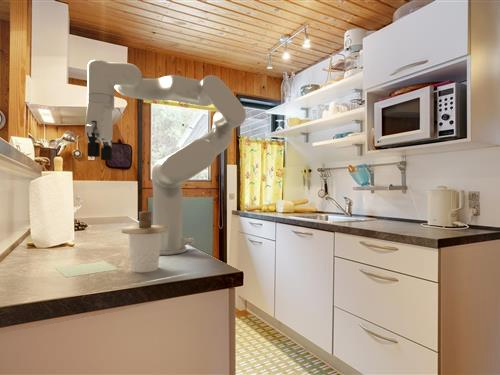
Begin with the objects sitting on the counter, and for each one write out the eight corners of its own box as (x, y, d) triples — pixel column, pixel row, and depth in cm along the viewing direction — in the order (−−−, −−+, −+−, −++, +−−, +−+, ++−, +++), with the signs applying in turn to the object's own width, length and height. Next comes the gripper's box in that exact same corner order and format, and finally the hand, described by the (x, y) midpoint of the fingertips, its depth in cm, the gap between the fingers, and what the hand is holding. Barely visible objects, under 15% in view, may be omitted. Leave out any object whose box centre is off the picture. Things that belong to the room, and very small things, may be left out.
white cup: (143, 276, 75) (143, 234, 75) (121, 271, 79) (121, 232, 79) (167, 269, 82) (167, 230, 82) (145, 265, 86) (146, 228, 86)
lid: (155, 227, 88) (155, 210, 88) (175, 231, 80) (175, 212, 80) (115, 231, 81) (115, 211, 81) (132, 235, 73) (132, 214, 73)
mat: (104, 262, 89) (104, 261, 89) (119, 270, 80) (119, 268, 80) (55, 269, 81) (55, 267, 81) (65, 279, 72) (65, 277, 72)
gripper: (99, 109, 105) (98, 161, 104) (74, 93, 87) (74, 155, 87) (122, 110, 105) (122, 161, 105) (102, 94, 88) (102, 155, 88)
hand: (100, 158), depth 96 cm, fingers open, 9 cm apart
